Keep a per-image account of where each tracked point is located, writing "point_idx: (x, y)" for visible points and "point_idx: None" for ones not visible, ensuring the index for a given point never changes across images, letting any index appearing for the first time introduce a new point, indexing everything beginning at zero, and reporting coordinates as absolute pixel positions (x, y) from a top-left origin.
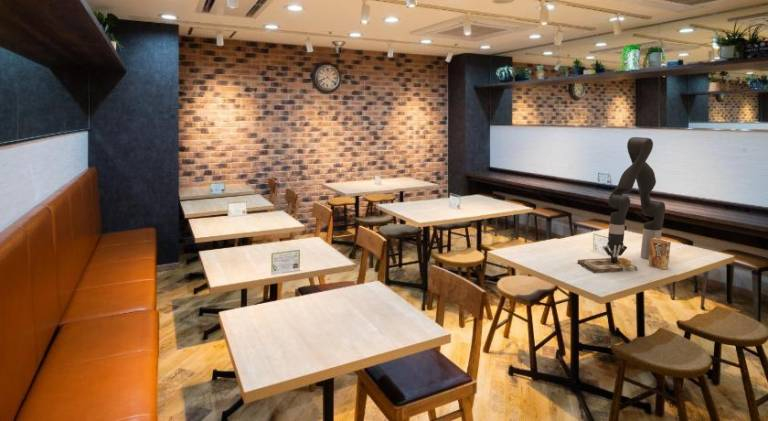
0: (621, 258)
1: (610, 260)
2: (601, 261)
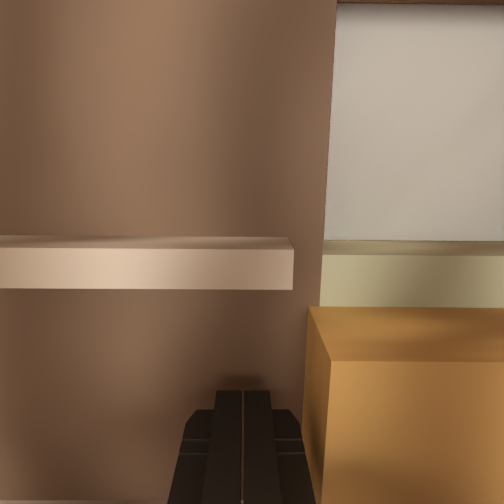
0: (477, 428)
1: (270, 285)
2: (63, 280)
